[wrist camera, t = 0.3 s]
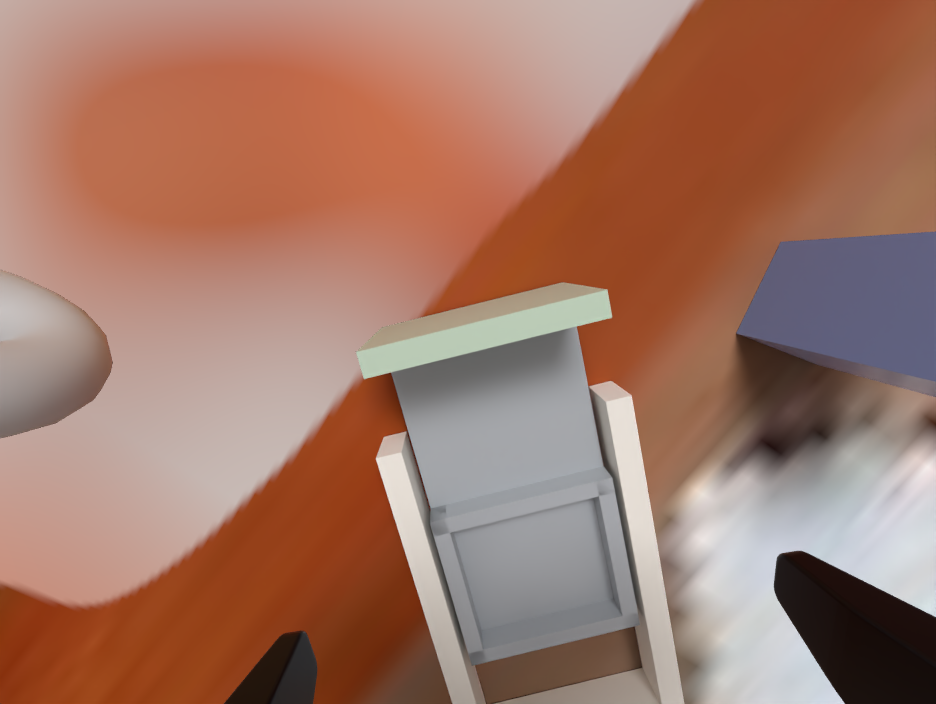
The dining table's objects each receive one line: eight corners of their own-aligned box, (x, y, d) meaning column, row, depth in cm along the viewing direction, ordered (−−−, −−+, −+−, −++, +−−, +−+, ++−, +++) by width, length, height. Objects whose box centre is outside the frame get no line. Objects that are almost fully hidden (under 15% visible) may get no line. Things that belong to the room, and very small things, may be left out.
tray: (623, 593, 24) (678, 697, 19) (469, 630, 25) (476, 745, 19) (562, 282, 21) (607, 289, 15) (382, 327, 21) (356, 352, 15)
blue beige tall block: (816, 364, 22) (1254, 484, 10) (736, 333, 22) (1095, 420, 10) (863, 276, 22) (1399, 292, 9) (780, 242, 21) (1236, 211, 9)
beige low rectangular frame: (664, 676, 26) (687, 719, 23) (470, 723, 26) (473, 770, 24) (611, 380, 22) (631, 395, 20) (384, 437, 22) (375, 458, 20)
